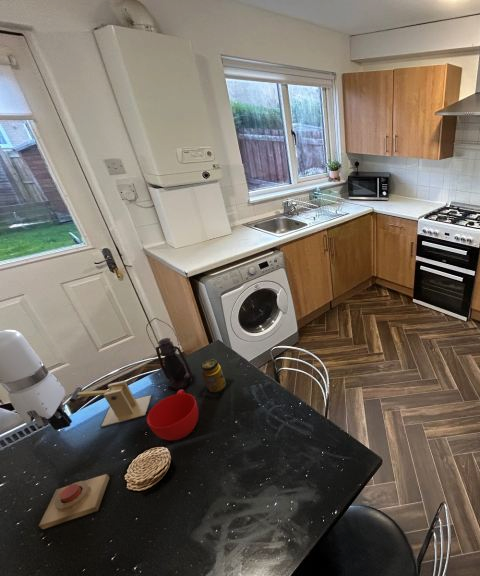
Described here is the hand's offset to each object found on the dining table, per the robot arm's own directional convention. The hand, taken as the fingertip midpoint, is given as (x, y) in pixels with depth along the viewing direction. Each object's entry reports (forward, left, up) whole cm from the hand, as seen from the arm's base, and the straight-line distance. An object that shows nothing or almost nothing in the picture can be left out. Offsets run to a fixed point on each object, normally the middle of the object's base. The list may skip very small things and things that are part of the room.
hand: (64, 425), depth 84 cm
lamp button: (+2, -14, -11) cm, 18 cm away
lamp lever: (+1, +15, -5) cm, 16 cm away
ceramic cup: (+24, +2, -15) cm, 29 cm away
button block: (+2, -14, -15) cm, 20 cm away
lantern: (+21, +23, -15) cm, 35 cm away
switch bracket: (+6, +15, -15) cm, 22 cm away
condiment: (+33, +15, -15) cm, 40 cm away
